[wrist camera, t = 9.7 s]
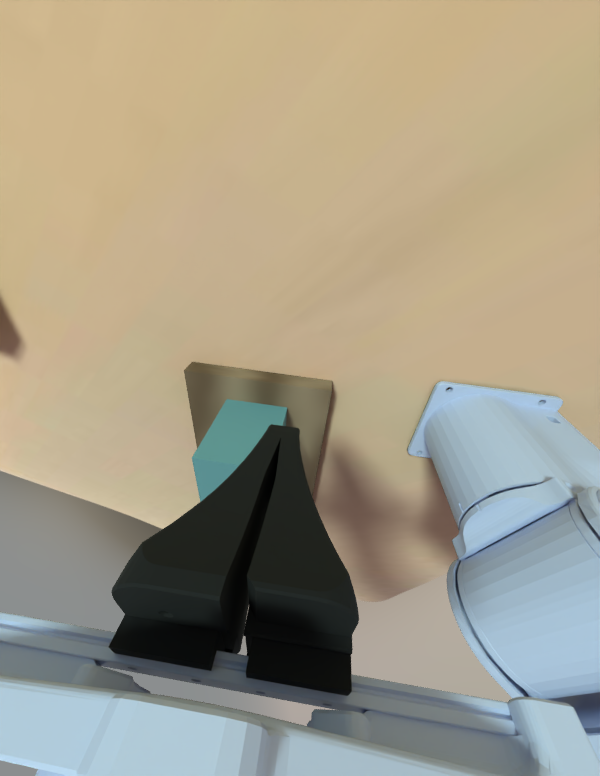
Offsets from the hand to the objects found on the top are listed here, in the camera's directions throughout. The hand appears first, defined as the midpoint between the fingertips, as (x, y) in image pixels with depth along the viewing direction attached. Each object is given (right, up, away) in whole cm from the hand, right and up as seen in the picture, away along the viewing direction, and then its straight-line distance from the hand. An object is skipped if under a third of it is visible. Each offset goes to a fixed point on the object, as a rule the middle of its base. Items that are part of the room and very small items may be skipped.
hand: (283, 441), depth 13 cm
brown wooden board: (-3, -6, +17) cm, 18 cm away
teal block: (-3, -1, +12) cm, 12 cm away
